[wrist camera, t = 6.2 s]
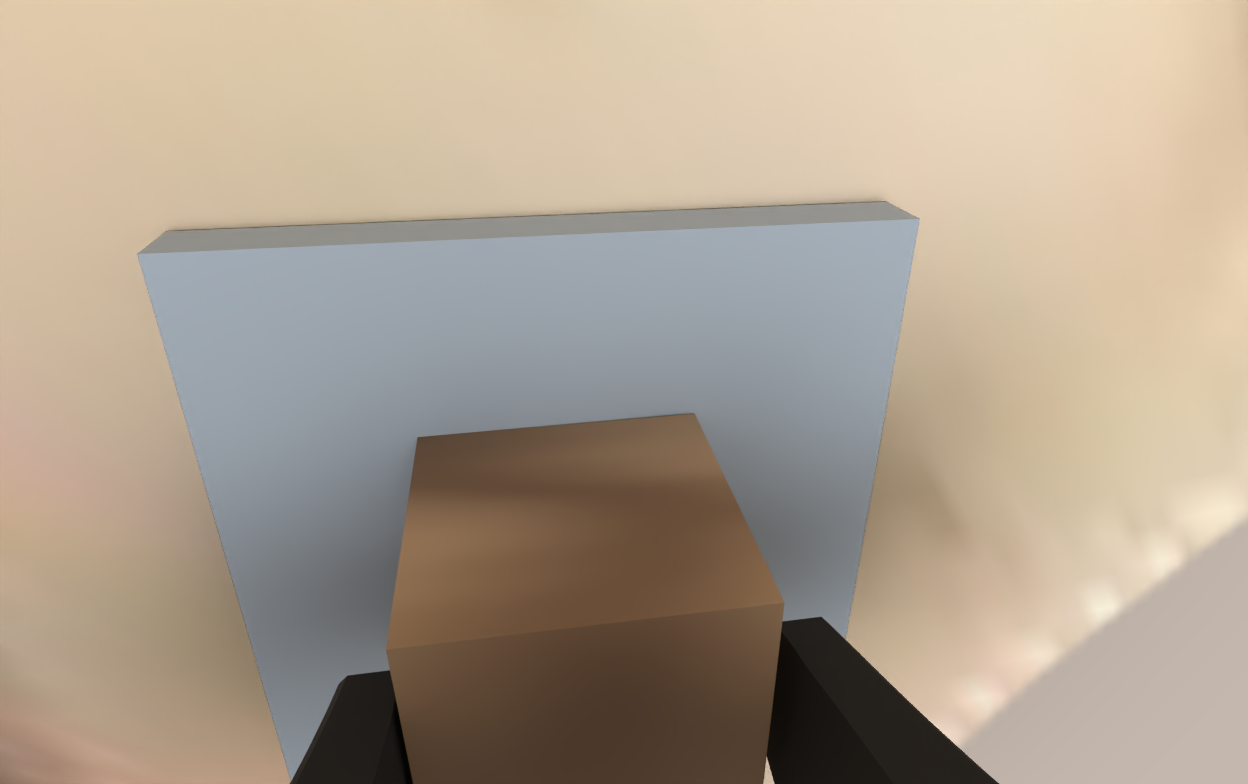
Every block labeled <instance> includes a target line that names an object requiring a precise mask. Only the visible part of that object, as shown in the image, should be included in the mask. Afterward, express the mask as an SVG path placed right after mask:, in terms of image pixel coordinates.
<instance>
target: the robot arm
mask: <svg viewBox="0 0 1248 784" xmlns="http://www.w3.org/2000/svg"><path fill="white" fill-rule="evenodd" d="M767 758H768V762H769V765H770V769H771V772H772V776H773V780H774V783H775V784H999V783H997V782H996V781H995V780H994V779H993V778H992V777H991V776H989V775H988V774H987V773H986V772H985V771H984V770H983V769H981V768H980V767H979V766H978V765H977V764H976V763H975V762H974V761H973V760H972V759H970V758H969V757H968V756H967V755H966V754H965V753H964V752H963V751H962V750H961V749H960V748H958V747H957V746H956V745H955V744H954V743H953V742H952V741H951V740H950V739H949V738H947V737H946V736H945V735H944V734H943V733H942V732H941V731H940V730H939V729H938V728H936V727H935V726H934V725H933V724H932V723H931V722H930V721H929V720H928V719H927V718H926V717H925V716H924V715H923V714H921V713H920V712H919V711H918V710H917V709H916V708H915V707H914V706H913V705H912V704H911V703H910V702H909V701H908V700H907V699H906V698H905V697H904V696H903V695H902V694H901V693H899V692H898V691H897V690H896V689H895V688H894V687H893V686H892V685H891V684H890V683H889V682H888V681H887V680H886V679H885V678H884V677H883V676H882V675H881V674H880V673H879V672H878V671H877V670H876V669H875V668H874V667H873V666H872V665H871V664H870V663H869V662H868V661H867V660H866V659H865V658H864V657H863V656H862V655H861V654H860V653H859V652H858V651H857V650H855V649H854V648H853V647H852V646H851V645H850V644H849V643H848V642H847V641H846V640H845V639H844V638H843V637H842V636H841V635H840V634H839V633H838V632H837V631H836V630H835V629H834V628H833V627H832V626H831V625H830V624H829V623H828V622H827V621H826V620H825V619H823V618H822V617H814V618H806V619H798V620H790V621H782V629H781V638H780V646H779V655H778V663H777V671H776V680H775V688H774V697H773V705H772V713H771V722H770V730H769V739H768V747H767ZM290 784H413V780H412V775H411V770H410V766H409V761H408V756H407V751H406V746H405V741H404V736H403V731H402V727H401V722H400V717H399V712H398V707H397V702H396V697H395V692H394V688H393V683H392V678H391V673H390V670H388V671H379V672H371V673H363V674H355V675H347V676H346V677H345V678H344V679H343V680H342V681H341V682H340V683H339V684H338V687H337V689H336V691H335V693H334V696H333V698H332V700H331V702H330V705H329V707H328V709H327V711H326V713H325V715H324V717H323V719H322V722H321V724H320V726H319V728H318V730H317V732H316V734H315V736H314V738H313V740H312V742H311V744H310V746H309V748H308V750H307V752H306V754H305V756H304V758H303V760H302V762H301V764H300V765H299V767H298V769H297V771H296V773H295V775H294V777H293V779H292V781H291V783H290Z"/></svg>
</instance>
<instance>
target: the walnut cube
mask: <svg viewBox="0 0 1248 784" xmlns="http://www.w3.org/2000/svg"><path fill="white" fill-rule="evenodd" d="M784 604H785V602H784V600H783V598H782V596H781V594H780V592H779V590H778V588H777V585H776V583H775V581H774V579H773V577H772V575H771V573H770V571H769V569H768V567H767V564H766V562H765V560H764V558H763V556H762V554H761V552H760V550H759V548H758V546H757V543H756V541H755V539H754V537H753V535H752V533H751V531H750V529H749V527H748V525H747V522H746V520H745V518H744V516H743V514H742V512H741V510H740V508H739V506H738V504H737V502H736V499H735V497H734V495H733V493H732V491H731V489H730V487H729V485H728V483H727V481H726V478H725V476H724V474H723V472H722V470H721V468H720V466H719V464H718V462H717V460H716V457H715V455H714V453H713V451H712V449H711V447H710V445H709V443H708V441H707V439H706V436H705V434H704V432H703V430H702V428H701V426H700V424H699V422H698V420H697V418H696V415H695V414H683V415H671V416H659V417H647V418H635V419H623V420H611V421H599V422H587V423H575V424H563V425H551V426H539V427H527V428H515V429H503V430H491V431H480V432H469V433H458V434H447V435H436V436H425V437H417V444H416V450H415V457H414V464H413V470H412V477H411V484H410V490H409V497H408V504H407V511H406V517H405V524H404V531H403V537H402V544H401V551H400V557H399V564H398V571H397V578H396V584H395V591H394V598H393V604H392V611H391V618H390V624H389V631H388V638H387V645H386V653H387V658H388V663H389V668H390V673H391V678H392V683H393V688H394V692H395V697H396V702H397V707H398V712H399V717H400V722H401V727H402V731H403V736H404V741H405V746H406V751H407V756H408V761H409V766H410V770H411V775H412V780H413V784H763V781H764V772H765V764H766V755H767V747H768V739H769V730H770V722H771V713H772V705H773V697H774V688H775V680H776V671H777V663H778V655H779V646H780V638H781V629H782V621H783V613H784Z"/></svg>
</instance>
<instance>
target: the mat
mask: <svg viewBox="0 0 1248 784" xmlns="http://www.w3.org/2000/svg"><path fill="white" fill-rule="evenodd" d="M918 225H919V218H917V217H915V216H913V215H911V214H909V213H907V212H905V211H903V210H902V209H900V208H898V207H896V206H894V205H892V204H890V203H888V202H863V203H839V204H815V205H790V206H766V207H742V208H718V209H694V210H669V211H645V212H621V213H597V214H572V215H548V216H524V217H500V218H476V219H451V220H427V221H403V222H379V223H355V224H330V225H306V226H282V227H258V228H233V229H209V230H185V231H166V232H165V233H163V234H162V235H161V236H160V237H158V238H157V239H156V240H155V241H153V242H152V243H151V244H149V245H148V246H147V247H146V248H144V249H143V250H142V251H141V252H139V253H138V254H137V255H138V259H139V262H140V265H141V269H142V272H143V276H144V279H145V283H146V286H147V289H148V293H149V296H150V300H151V303H152V307H153V310H154V313H155V317H156V320H157V324H158V327H159V331H160V334H161V337H162V341H163V344H164V348H165V351H166V355H167V358H168V361H169V365H170V368H171V372H172V375H173V379H174V382H175V385H176V389H177V392H178V396H179V399H180V403H181V406H182V409H183V413H184V416H185V420H186V423H187V427H188V430H189V433H190V437H191V440H192V444H193V447H194V451H195V454H196V457H197V461H198V464H199V468H200V471H201V475H202V478H203V481H204V485H205V488H206V492H207V495H208V499H209V502H210V505H211V509H212V512H213V516H214V519H215V523H216V526H217V529H218V533H219V536H220V540H221V543H222V547H223V550H224V553H225V557H226V560H227V564H228V567H229V571H230V574H231V577H232V581H233V584H234V588H235V591H236V595H237V598H238V601H239V605H240V608H241V612H242V615H243V619H244V622H245V625H246V629H247V632H248V636H249V639H250V643H251V646H252V649H253V653H254V656H255V660H256V663H257V667H258V670H259V673H260V677H261V680H262V684H263V687H264V691H265V694H266V697H267V701H268V704H269V708H270V711H271V715H272V718H273V721H274V725H275V728H276V732H277V735H278V739H279V742H280V745H281V749H282V752H283V756H284V759H285V763H286V766H287V769H288V773H289V776H290V780H291V781H292V779H293V777H294V775H295V773H296V771H297V769H298V767H299V765H300V764H301V762H302V760H303V758H304V756H305V754H306V752H307V750H308V748H309V746H310V744H311V742H312V740H313V738H314V736H315V734H316V732H317V730H318V728H319V726H320V724H321V722H322V719H323V717H324V715H325V713H326V711H327V709H328V707H329V705H330V702H331V700H332V698H333V696H334V693H335V691H336V689H337V687H338V684H339V683H340V682H341V681H342V680H343V679H344V678H345V677H346V676H347V675H355V674H363V673H371V672H379V671H388V670H390V668H389V663H388V658H387V653H386V645H387V638H388V631H389V624H390V618H391V611H392V604H393V598H394V591H395V584H396V578H397V571H398V564H399V557H400V551H401V544H402V537H403V531H404V524H405V517H406V511H407V504H408V497H409V490H410V484H411V477H412V470H413V464H414V457H415V450H416V444H417V437H425V436H436V435H447V434H458V433H469V432H480V431H491V430H503V429H515V428H527V427H539V426H551V425H563V424H575V423H587V422H599V421H611V420H623V419H635V418H647V417H659V416H671V415H683V414H695V415H696V418H697V420H698V422H699V424H700V426H701V428H702V430H703V432H704V434H705V436H706V439H707V441H708V443H709V445H710V447H711V449H712V451H713V453H714V455H715V457H716V460H717V462H718V464H719V466H720V468H721V470H722V472H723V474H724V476H725V478H726V481H727V483H728V485H729V487H730V489H731V491H732V493H733V495H734V497H735V499H736V502H737V504H738V506H739V508H740V510H741V512H742V514H743V516H744V518H745V520H746V522H747V525H748V527H749V529H750V531H751V533H752V535H753V537H754V539H755V541H756V543H757V546H758V548H759V550H760V552H761V554H762V556H763V558H764V560H765V562H766V564H767V567H768V569H769V571H770V573H771V575H772V577H773V579H774V581H775V583H776V585H777V588H778V590H779V592H780V594H781V596H782V598H783V600H784V602H785V604H784V613H783V621H790V620H798V619H806V618H814V617H822V618H823V619H825V620H826V621H827V622H828V623H829V624H830V625H831V626H832V627H833V628H834V629H835V630H836V631H837V632H838V633H839V634H840V635H841V636H842V637H843V638H844V639H846V634H847V628H848V622H849V617H850V611H851V605H852V600H853V594H854V588H855V583H856V577H857V571H858V566H859V560H860V554H861V549H862V543H863V537H864V532H865V526H866V520H867V514H868V509H869V503H870V497H871V492H872V486H873V480H874V475H875V469H876V463H877V458H878V452H879V446H880V441H881V435H882V429H883V424H884V418H885V412H886V407H887V401H888V395H889V390H890V384H891V378H892V373H893V367H894V361H895V356H896V350H897V344H898V339H899V333H900V327H901V321H902V316H903V310H904V304H905V299H906V293H907V287H908V282H909V276H910V270H911V265H912V259H913V253H914V248H915V242H916V236H917V231H918Z"/></svg>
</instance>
